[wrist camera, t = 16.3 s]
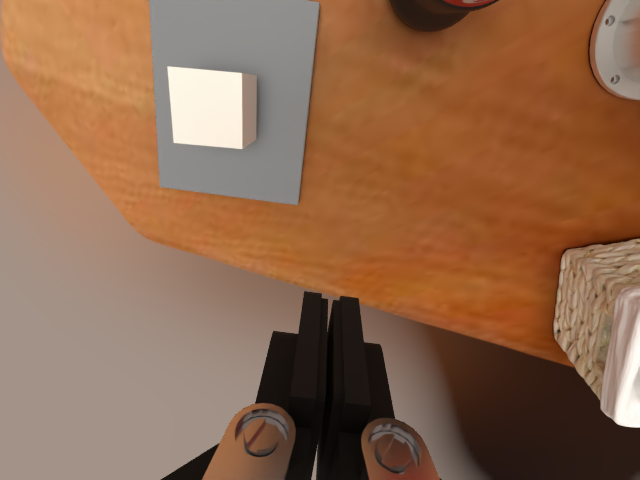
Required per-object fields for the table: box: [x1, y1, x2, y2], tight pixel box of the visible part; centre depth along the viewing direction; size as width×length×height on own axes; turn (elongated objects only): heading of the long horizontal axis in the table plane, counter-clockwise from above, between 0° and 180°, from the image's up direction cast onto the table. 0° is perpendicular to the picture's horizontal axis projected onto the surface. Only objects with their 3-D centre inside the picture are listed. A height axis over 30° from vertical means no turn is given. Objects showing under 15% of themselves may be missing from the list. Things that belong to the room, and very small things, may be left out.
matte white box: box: [167, 66, 257, 149], centre depth 32 cm, size 6×6×6 cm
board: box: [149, 0, 320, 205], centre depth 38 cm, size 16×20×2 cm
